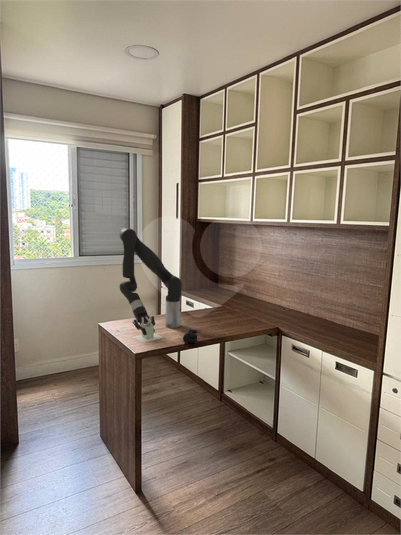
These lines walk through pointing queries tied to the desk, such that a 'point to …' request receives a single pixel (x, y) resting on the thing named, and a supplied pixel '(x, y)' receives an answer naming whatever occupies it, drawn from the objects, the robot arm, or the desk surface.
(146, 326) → the sleeve
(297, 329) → the desk surface
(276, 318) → the desk surface
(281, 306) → the desk surface
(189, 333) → the end cap
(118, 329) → the mat
